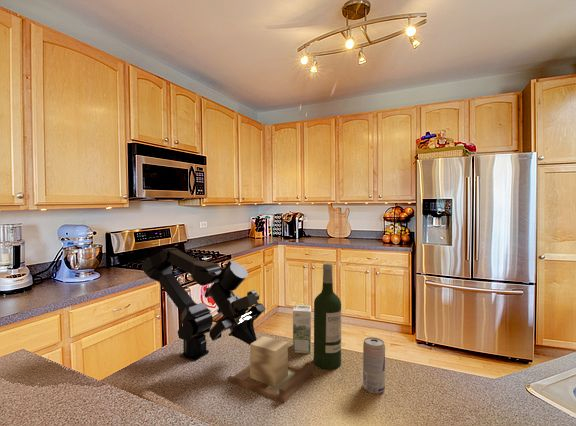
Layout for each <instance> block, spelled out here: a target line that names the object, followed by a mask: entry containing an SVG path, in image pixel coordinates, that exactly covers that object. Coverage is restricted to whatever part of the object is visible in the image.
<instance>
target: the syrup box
mask: <svg viewBox="0 0 576 426" xmlns="http://www.w3.org/2000/svg"><path fill="white" fill-rule="evenodd" d="M311 352H312V306H311V305H304V304H303V305H302V304H300V305H299V304H298V305H297V304H294V306H293V308H292V353H299V354H311Z"/></svg>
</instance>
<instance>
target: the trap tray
mask: <svg viewBox="0 0 576 426" xmlns="http://www.w3.org/2000/svg"><path fill="white" fill-rule="evenodd" d="M312 375H313V363H309V362H306V363H305V364H304V365H303V366H302V367H299V366H295V365H293V364H289V363H288V376H287V377H286V378H285V379H284V380H283V381H282V382H281V383H280V384H279V385H277V386H276V387H274V386H271V385H268V384H265V383H263V382H260V381H257V380H254V379H252V378H250V364H249V365H247V366H246V367H245V368H243V369H241V370H240V371H239V372H237V373H235V374H234V375H233V376H232V375H228V377H227V379H226V380H227V382H230V383H233V384H235V385H238V386H241V387H243V388H245V389H248V390H250V391H253V392H256V393H258V394H261V395H263V396H267V397H269V398H270V399H273V400H276V401H279V402H281V403H284V404H285V403H286V402H287V401H288V400H289V399H290V398H291V397H292V396H293V395H294V394H295V393H296V392H297V391H298V390H299V389H300V388H301V387H302V386H303V385H304V383H306V381H308V379H309V378H310V377H311V376H312ZM245 378H248V379H250V380H252V381H256V382H257V383H256V384H254V383H252V382H248V381H246V380H244V379H245Z"/></svg>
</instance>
